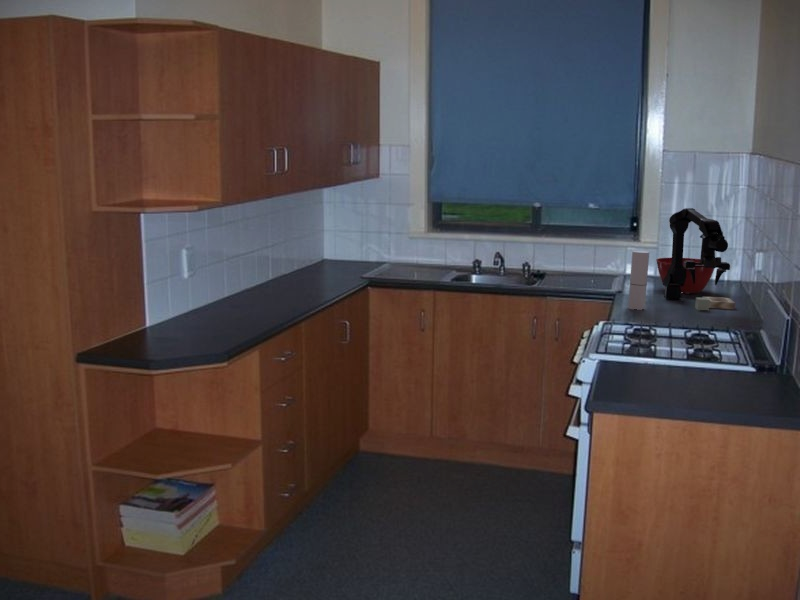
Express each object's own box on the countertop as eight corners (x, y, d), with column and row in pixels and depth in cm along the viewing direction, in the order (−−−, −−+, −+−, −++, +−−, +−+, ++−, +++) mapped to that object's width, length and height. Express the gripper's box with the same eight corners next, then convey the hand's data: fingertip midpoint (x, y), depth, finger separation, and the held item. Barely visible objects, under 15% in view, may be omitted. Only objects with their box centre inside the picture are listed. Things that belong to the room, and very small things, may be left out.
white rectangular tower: (643, 307, 396) (647, 251, 391) (645, 310, 389) (650, 253, 384) (626, 306, 396) (631, 250, 392) (629, 309, 389) (633, 252, 385)
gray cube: (697, 310, 393) (698, 299, 392) (694, 308, 397) (695, 297, 396) (708, 311, 392) (709, 299, 391) (706, 309, 397) (707, 297, 396)
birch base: (706, 307, 399) (707, 300, 399) (701, 302, 411) (702, 296, 410) (734, 309, 398) (735, 302, 397) (728, 304, 409) (729, 297, 409)
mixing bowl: (649, 293, 433) (652, 261, 430) (657, 285, 459) (659, 255, 456) (711, 299, 422) (714, 266, 419) (715, 290, 448) (718, 259, 445)
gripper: (689, 250, 383) (686, 286, 386) (734, 252, 381) (731, 288, 384) (684, 247, 394) (681, 282, 397) (728, 249, 392) (725, 284, 395)
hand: (704, 284), depth 393 cm, fingers open, 9 cm apart
